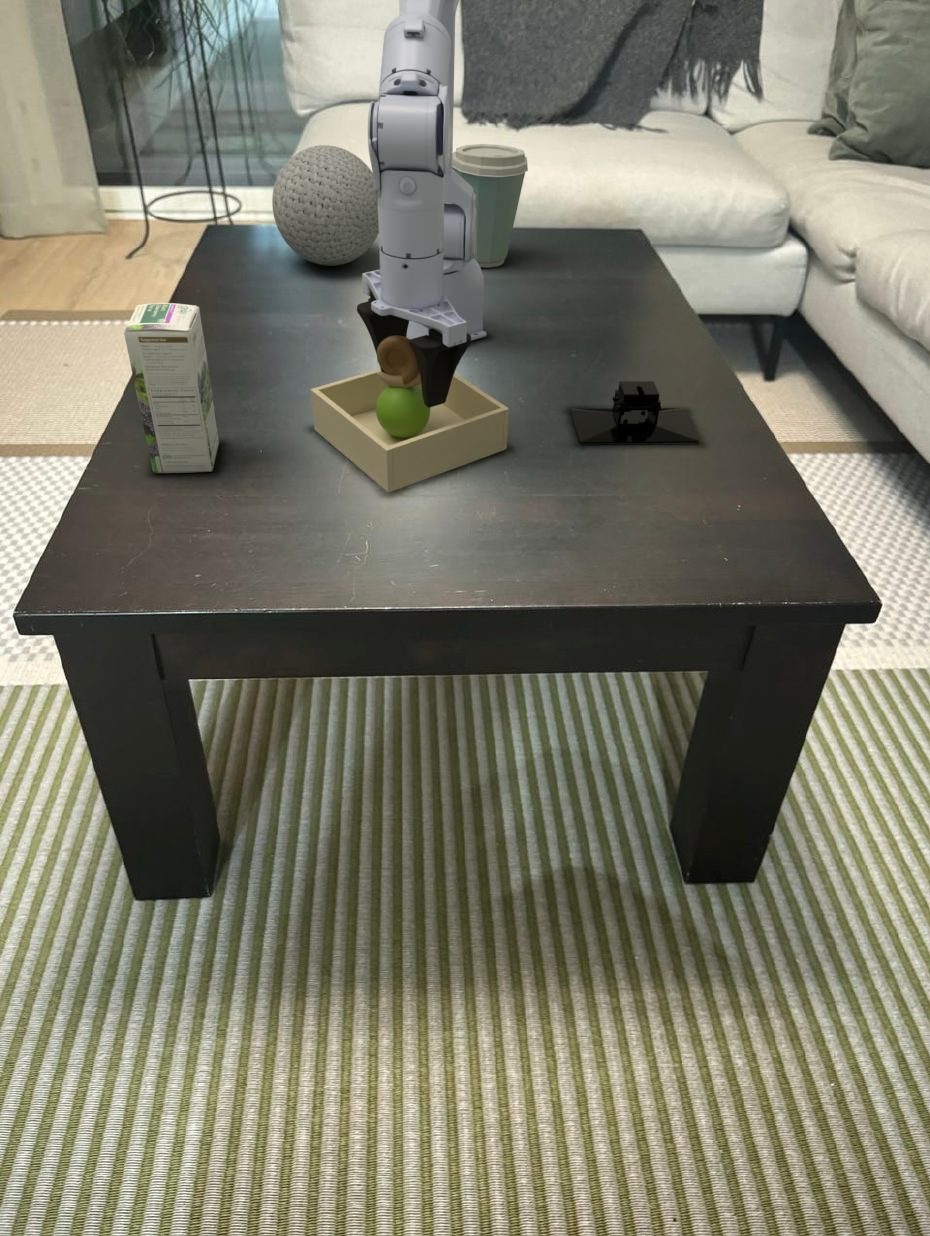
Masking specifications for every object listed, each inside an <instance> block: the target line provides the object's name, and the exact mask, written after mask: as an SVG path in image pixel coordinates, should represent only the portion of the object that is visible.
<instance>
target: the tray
mask: <svg viewBox="0 0 930 1236" xmlns="http://www.w3.org/2000/svg"><path fill="white" fill-rule="evenodd" d="M378 372H382V371H381V368H378V369H375V370H371V371H367V372H364V373H361V374H357V375H354V376H350V377H348V378H344V379H340V380H337V381H334V382H331V383H326V384H323V385H320V386H317V387H313V388H310V396H311V397H310V398H311V408H312V418H313V428H314V431H315V432H317V433H318V434H319V435H320V436H321V437H322V438H323V439H324V440H326V441H327V442H328V443H330V444H331V445H332V446H333V447H334V448H335V449H336V450H337V451H339V452H340V453H341V454H342V455H343V456H345V457H346V459H348V460H349V461H350V462H352V464H354V465H355V466H356V467H358V469H360V470H361V472H363V473H364V474H366V475H367V476H368V477H369V478H370V479H371V480H373V481H374V482H375V483H376V484H377V485H378V486H379V487H380V488H382V489H383V490H384V491H385V492H387V493H392V492H394V491H397V490H400V489H402V488H405V487H408V486H411V485H413V484H415V483H416V484H417V483H419V482H421V481H424V480H427V479H429V478H432V477H435V476H439V475H440V474H443V473H446V472H449V471H451V470H454V469H456V468H460V467H462V466H465V465H468V464H470V463H473V462H475V461H478V460H482V459H485V458H486V457H489V456H492V455H494V454H498V453H500V452H503V451H505V450H507V447H508V445H507V444H508V431H509V414H510V407H507V406H506V405H504V404H502V403H501V402H500V401H499V400H497V399H495V398H493V397H492V396H491V395H489V394H488V393H486V392H485V391H483V390H482V389H480V388H479V387H477V386H475V385H474V384H472V383H471V382H469V381H468V380H467V379H465V378H463V377H461V375H459V374H458V373H456V372H455V373H454V375H453V378H452V381H451V385H450V388H449V392H448V395H447V399H446V402H445V403H443V404H440V405H437V406H434V407H430V417H429V420H428V423H427V424H426V426H425V427H424V429H423V430H422V431H420V432H419V433H418V434H416V435H414V436H411V437H406V438H401V437H396V436H393V435H391V434H389V433H388V432H386V431H385V430H384V429H383V428H382V426H381V425H380V423H379V421H378V419H377V415H376V404H377V400H378V398H379V396H380V394H381V393H382V391H383V390H384V389H385V388H387V387H388V386H389V385H387V384H386V383H385V382H383V381H382V380H381V379H380V377H379V376H378V375H377V373H378ZM417 386H418V387H419V388H420V389H421V390H422V387H421V384H420V385H417Z"/></svg>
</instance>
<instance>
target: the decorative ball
mask: <svg viewBox="0 0 930 1236" xmlns="http://www.w3.org/2000/svg"><path fill="white" fill-rule="evenodd" d="M285 162H286V163H285V164H284V165H282V167H281V169H280V171H279V172H278V174H277V177H276V179H275V182H274V186H273V190H272V198H271V201H272V202H271V204H272V214H273V219H274V221H275V225H276V227H277V230H278V232H279V234H280V236H281V237H282V239H283V240H284V242H285V243H286V245H287V246H288V247H289V248H290V249H292V251H293V252H294V253H296V254H297V255H298V256H300V257H301V258H303V259H305V260H306V261H308V262H311V263H313V264H317V265H321V266H327V267H332V266H333V267H334V266H335V267H336V266H342V265H345V264H348V263H351V262H354V261H355V260H357V259H359V258H360V257H362V256H363V255H364V254H365V253H367V252H368V251H369V249H370V248H371V247H372V245H373V244H374V242H375V241H376V239H377V237H378V236H379V224H378V196H377V195H375V194H374V185H373V172H372V169H371V168H370V167H369V165H368V164H366V163H365V162H364V161H363V160H362V159H361V158H360V157H359V156H357V155H356V154H354V153H353V152H351V151H349V150H347V149H345V148H342V147H339V146H335V145H329V144H322V145H321V144H320V145H314V146H310V147H307V148H305V149H302V150H301V151H299V152H297V153H296V154H294V155H292V156H291V158H289V159H288V160H287V161H285Z"/></svg>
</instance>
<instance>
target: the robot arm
mask: <svg viewBox="0 0 930 1236" xmlns="http://www.w3.org/2000/svg"><path fill="white" fill-rule="evenodd" d="M398 3H399V4H398V5H399V7H398V8H399V15H398V16H396V17H395V18H394V19H392V20H391V22H389V24H388V25H387V27H386V28H385V31H384V35H383V44H382V56H381V66H380V77H379V88H378V96H377V97H378V98H377V101H374V100H372V101H370V104H369V108H368V114H367V115H368V116H367V148H368V149H367V150H368V154H369V155H368V157H369V160H370V166H371V171H372V173H373V185H374V194H375V195H377V196H378V224H379V233H378V248H379V251H378V253H379V269H376V270H372V271H366V272H363V273H362V274H361V277H362V278H361V279H362V293H363V294H364V295H366V296H368V297H369V298H368V299H367V300H368V301H365V302H361V303H359V304H357V306H356V312H357V314H358V316H359V317H360V318H361V320H362V322H363V323H364V325H365V327H366V330H367V331H368V334H369V336H370V339H371V341H372V344H373V348H374V351H375V353H376V355H375V356H377V349H378V346H379V344H380V343H381V342H382V341H383V340H384V339H385V338H387V337H389V336H394V335H399V336H404V337H406V338H408V339H410V340H409V344H410V346H411V348H412V350H413V352H414V354H415V357H416V359H417V363H418V366H419V371H420V376H421V387H422V396H423V400H424V404H425V405H426V406H427V407H429V408H430V407H434V406H437V405H440V404H443V403H445V402H446V399H447V395H448V392H449V388H450V385H451V381H452V378H453V375H454V373H456V370H457V367H458V365H459V364H460V361H461V360H462V358H463V356H464V355H465V353H466V351H467V350H468V349H469V347H470V346H471V344H472V341H475V340H478V339H482V338H485V337H487V332H486V331H485V330H483V329H484V307H485V306H484V305H485V303H484V301H485V279H484V275H483V272H482V267H480V266H479V264H478V263H477V261H476V260H475V259H474V256H475V243H476V194H475V193H474V189H473V187H472V186H471V185H470V184H469V183H468V182H466V181H465V180H464V179H463V178H462V177H461V176H460V175H458V174H457V173H456V172H455V171H454V170H453V168H452V158H453V152H454V151H453V149H454V146H453V145H454V104H455V102H454V98H455V95H454V94H455V93H454V92H455V52H456V51H455V49H456V47H455V46H456V14H457V10H458V6H459V3H460V0H398ZM379 369H381V371H382V372H384V373H386V372H385V371H384V370H383V369H382V368H381V367H380V366H379Z"/></svg>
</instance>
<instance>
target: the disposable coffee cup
mask: <svg viewBox="0 0 930 1236" xmlns="http://www.w3.org/2000/svg"><path fill="white" fill-rule="evenodd" d="M452 168H453V170H454V171H455V172H456V173H457V174H458V175H460V176H461V177H462V178H463V179H464V180H465V181H466V182H468V183H469V184H470V185H471V186H472V187H473V189H474V193H475V194H476V243H475V256H474V259H475V260H476V261H477V263H478V264H479V266H480V268H495V267H500V266H501V265H503V264H504V263H505V259H507V256H508V252H509V248H510V243H511V238H512V234H513V229H514V225H515V220H516V216H517V212H518V208H519V207H518V206H519V203H520V197H521V194H522V190H523V185H524V180H525V176H526V172H528V171H529V168H528V158H527V156H526V153H525V151H524V149H521V148H517V147H514V146H508V145H504V144H503V145H502V144H489V143H477V144H465V145H462V146H459V147H456V148H455V151H453V158H452Z"/></svg>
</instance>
